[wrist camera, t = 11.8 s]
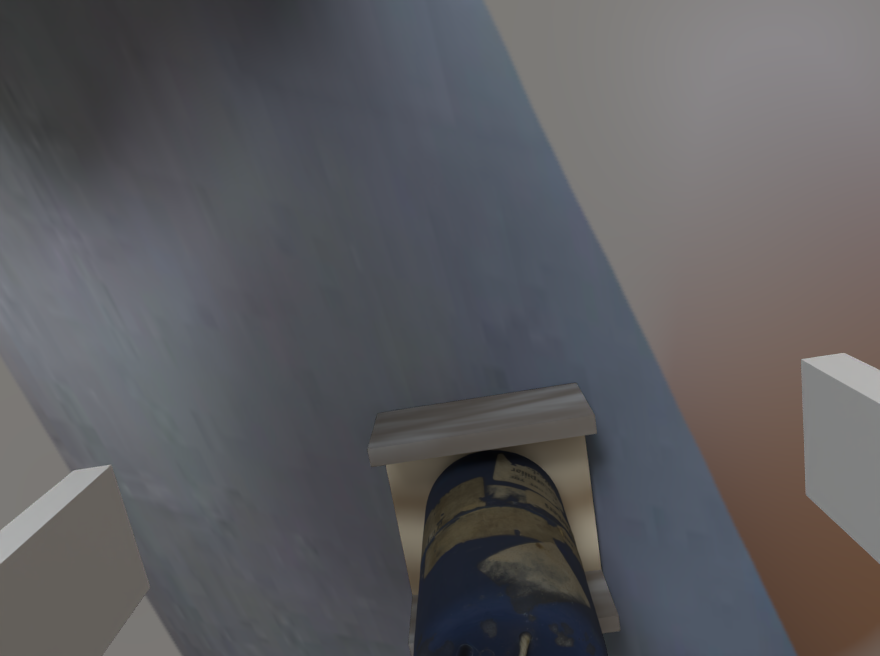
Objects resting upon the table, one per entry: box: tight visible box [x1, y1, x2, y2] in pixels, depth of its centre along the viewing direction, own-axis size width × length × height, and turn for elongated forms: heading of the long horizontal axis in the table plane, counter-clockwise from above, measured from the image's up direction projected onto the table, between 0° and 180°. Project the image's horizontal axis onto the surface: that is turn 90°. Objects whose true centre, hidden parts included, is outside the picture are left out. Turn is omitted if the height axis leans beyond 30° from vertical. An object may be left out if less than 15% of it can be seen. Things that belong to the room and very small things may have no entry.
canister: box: [413, 450, 608, 656], centre depth 38 cm, size 10×10×18 cm
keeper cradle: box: [367, 383, 620, 656], centre depth 45 cm, size 15×14×6 cm
